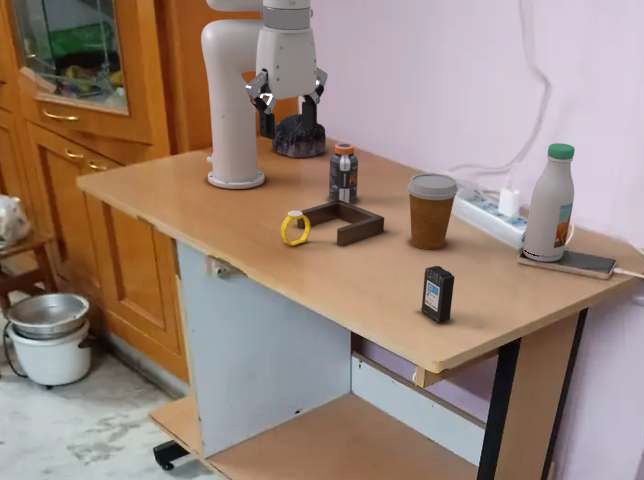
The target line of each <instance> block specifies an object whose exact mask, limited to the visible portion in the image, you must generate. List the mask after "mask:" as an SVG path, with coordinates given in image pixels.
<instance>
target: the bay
mask: <svg viewBox="0 0 644 480" xmlns="http://www.w3.org/2000/svg"><path fill="white" fill-rule="evenodd" d="M299 211H300V212H302V215H304V216H306V217H307V218H308V220H309V221H310V227H312V226H316V225H319V224H322V223H325V222H329V221H331V220H335V219H341V220H344V221H346V222H349V223H350V224H348V225H344V226H341V227H338V228H337V229H336V245H338V246H341V247H344V246H346V245H349V244H352V243H355V242H359V241H362V240H364V239H367V238H371V237H373V236H377V235H379V234H382V233H384V231H385V216H382V215H380V214H377V213H375V212H372V211H370V210H367V209H364V208H362V207H359V206H357V205H354V204H353V203H350V204H349V203H347V202H344V201H341V200H336V201H333V202H332V201H330V202H326V203H323V204H319V205H316V206H312V207H310V208H305V209H302V210H299ZM296 227H297V228H300V229H302V230H303V229H305V221H304V219H303V218H300V219H296Z"/></svg>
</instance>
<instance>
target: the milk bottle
mask: <svg viewBox="0 0 644 480" xmlns="http://www.w3.org/2000/svg"><path fill="white" fill-rule="evenodd" d="M575 149H576V148H575V147H574V146H573V145H571V144H567V143H561V142H560V143H559V142H557V143H556V142H555V143H551V144H549V145H548V149H547V156H546V158H547V162H546V165H545V167H544V170H543V171H542V172H541V174H540V176H539V177H538V179H537V180H536V183H535V185H534V187H533V191H532V193H531V194H532V195H531V199H530V205H529V211H528V216H527V220H526V221H527V224H526V228H525V232H524V233H525V234H524V239H523V247H522V252H523V255H524V256H526V257H527V258H528V259H531V260H533V261H534V260H535V261H538V262H548V263H549V262H556V261H559V260H561V259H562V257H563V256H564V253H565V248H566V242H567V237H568V233H569V227H570V222H571V217H572V212H573V206H574V200H575V185H574V181H573V180H574V179H573V177H572V176H573V175H572V169H571V168H572V167H571V166H572V165H571V164H572V162H573V160H574V157H575V156H574V155H575ZM524 250H526V251H527V252H529V253H531V254H535V255H541V256H542V255H544V256H553V255H558V254H561V253H563V252H564V253H563V254H562V255H561V256H559V257H554V258H543V257H537V256H533V255H531V254H528V253H527V252H525V251H524Z"/></svg>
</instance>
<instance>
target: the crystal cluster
mask: <svg viewBox="0 0 644 480" xmlns="http://www.w3.org/2000/svg"><path fill="white" fill-rule="evenodd" d="M326 140H327V135H326V128H325V127H324V126H323V124H321V123H319V122H317V129H315V130H313V129H309V128H306V127H303V126H302V113H295V114H292V115H287V116H286V117H284V118H283V119H280V120H279V121H278V122H277V123H276V124H275V138H274V139H271V147H272V149H273V150H274V151H276V152H277V153H279V154H281V155H284V156H288V157H290V158H294V159H295V158H308V157H309V158H310V157H313V156H316V155H319V154H322V153H325V151H326V147H327V146H326V145H327V141H326Z"/></svg>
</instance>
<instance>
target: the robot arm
mask: <svg viewBox="0 0 644 480" xmlns="http://www.w3.org/2000/svg"><path fill="white" fill-rule="evenodd" d="M205 1H206V3H207V6H208V7H209V8H210V9H212V10H214V11H218V12H229V13H230V12H231V13H232V12H236V13H237V12H238V13H239V12H257V13H259V15H260V17H261V18H256V19H255V18H252V19H250V18H248V19H244V18H237V19H232V18H231V19H218V20H213V21H211V22H209V23H207V24H206V25H205V26H204V27H203V29H202V31H201V34H200V44H201V50H202V56H203V60H204V65H205V71H206V76H207V84H208V85H207V86H208V95H209V96H208V97H209V109H210V110H209V111H210V123H211V125H210V126H211V140H212V141H211V142H212V154H211V156H207V158H206V162H207V163H209V164H211V167H212V170H211V171H209V172H208V174H207V181H208V183H209V184H211V185H212V186H215V187H217V188H221V189H228V190H243V189H251V188H255V187H259V186H260V185H263V184H264V182H265V178H266V175H265V173H264V172H263V171H261V170H259V169H258V147H257V145H258V144H257V118H256V112H258V119H259V120H258V121H259V135H260V137H263V138H266V139H269V140H272V139H274V138H275V132H276V130H275V126H276V116H275V113H272V112H273V110H274V109H275V106H276V104H277V102H278V101H281V100H288V99H293V98H299V97H302V98H303V100H304V101H301V114H302V126H303V127H306V128H309V129H313V130H315V129H317V123H318V105H319V104H320V103H321V97H322V95H323V93H324V92H325V86H326V84H327V80H328V76H329V75H328V73H327V72H326V71H324V70H323V69H321V68H319V67H318V66H317V50H316V41H315V36H314V30H313V28H312V27H311V25H312V24H311V21H312V20H311V19H312V18H313V17H314V10H313V9H312V8H311V7H312V6H311V3H312V2H311V1H312V0H205ZM252 72H254V73H255V77H253V79H252V80H250V81H249V82H247V81H246V80H245V78H243V76H242V74H244V73H252Z"/></svg>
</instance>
